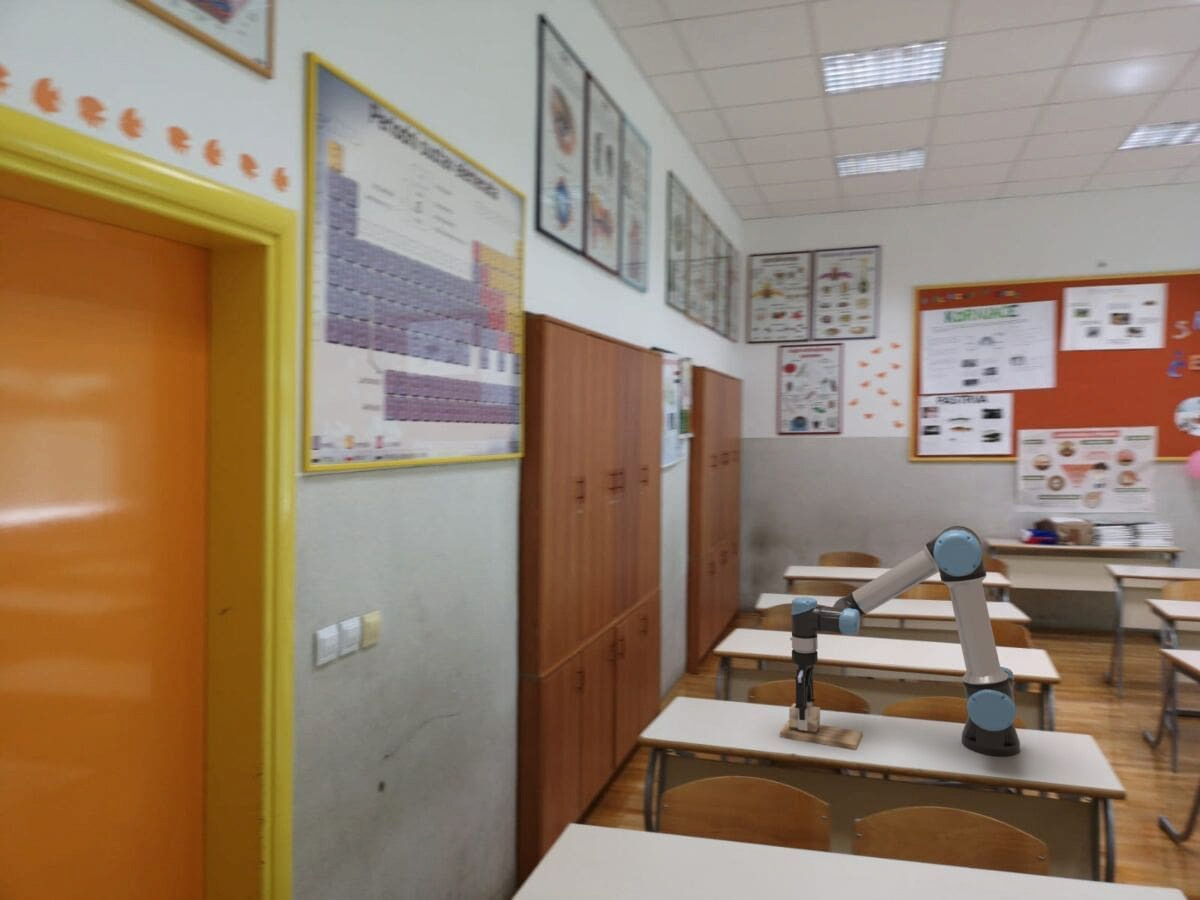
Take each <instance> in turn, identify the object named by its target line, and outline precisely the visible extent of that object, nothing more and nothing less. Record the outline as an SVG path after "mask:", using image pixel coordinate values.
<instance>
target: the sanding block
mask: <svg viewBox="0 0 1200 900" xmlns="http://www.w3.org/2000/svg"><path fill="white" fill-rule="evenodd" d="M795 706H796V702H795V703H794V702H793V703H792V704H791V706H790V707H789V708H788V709H789V712H788V713H789V714H788V715H789V716H788V718H789V719H788V721H789V728H791V729H796V730H799V729H798V708H795ZM807 708H808V730H807V731H808V732H813V733H816V732H817V731H818V729H819V728H820V725H821V707H819V706H813V705H812V706H807ZM802 731H805V730H802Z"/></svg>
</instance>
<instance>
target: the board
mask: <svg viewBox="0 0 1200 900" xmlns="http://www.w3.org/2000/svg"><path fill="white" fill-rule="evenodd" d="M779 737H780V738H782V739H783V738H784V739H790V740H795V741H800V742H807V743H813V744H817V745H818V744H820V745H824V746H830V747H836V748H841V749H842V748H843V749H848V750H853V751H856V750H857V748H858V747H859V744H860V742H861V740H863V739H862V738H863V731H860V730H854V729H847V728H841V727H837V726H832V725H831V726H829V725H822V724H820V728H819V729H818V731H817V732H816V733H813V732H808V731H802V730H796V729H791V728H789V720H788V721H786V723H785V724H784V726H783V727H782V728H781V729H780V731H779Z"/></svg>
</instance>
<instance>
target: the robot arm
mask: <svg viewBox="0 0 1200 900" xmlns="http://www.w3.org/2000/svg"><path fill="white" fill-rule="evenodd" d="M938 573H939V576H940V581H941V582H942V583H943V584H944V585H945V586H947V587H948V590H949V596H950V600H951V606H952V610H953V614H954V619H955V623H956V629H957V633H958V637H959V642H960V646H961V647H960V648H961V651H962V655H963V660H964V661H963V662H964V665H965V669H966V672H965V674H964V675H963V676H962V679H961V680H962V683H963V684H962V685H963V690H964V694H965V699H966V713H967V714H968V715H967V718H966V721H965V724H964V727H963V730H962V733H961V744H963V746H964V747H965V748H967V749H969V750H972V751H974V752H976V753H979V754H984V755H990V756H995V757H1006V756H1010V757H1011V756H1013V755H1016V754H1019V753H1020V751H1021V741H1020V738H1019V735H1018V732H1017V730H1016V727H1015V724H1014V721H1015V718H1016V715H1017V708H1016V705H1015V696H1014V680H1015V678H1014V673H1013V671H1012V669H1009V668H1008V667H1004V666H1001V665H1000V664H1001V663H1000V660H999V656H998V651H997V650H998V649H997V646H996V642H995V641H996V640H995V636H994V633H993V631H994V630H993V627H992V621H991V617H990V613H989V609H988V603H987V600H986V594H985V590H984V585H983V582H984V580H985V579H986V577H987V571H986V566H985V561H984V558H983V552H982V543H981V540H980V537H979V536H978V534H977V533H975V531H973V530H972V529H971V528H969V527H966V526H962V525H953V526H949V527H947V528H945V529H944V530H943V531H942V532H940V533H939V534H938V535H937V536H935V537H934V538H933V539H932V540H930V541H929V542H927V543H925V544H924V546H923V549H922V550H921V551H919V552H917V553H916V554H914V555H912V556H911V557H909V558H907V559H905V560H904V561H902V562H901V563H899V564H897V565H895V566H894V567H892V568H891V569H889V570H887V571H885V572H883V574H881V575H879V576H877V577H876V578H874V579H873V580H870V581H868V582H867V583H866V584H864V585H862V586H861V587H859V588H857V589H856V590H854V591H852V592H851V593H849V594H847V595H846V596H843V597H842V596H841V597H840V598H838V600H836V601H835V602H834V605H833V606H832V607H831V606H821V605H819V604H818V601H817V599H816V598H814V597H807V596H800V597H795V598H793V599H792V600H791V611H790V612H791V613H790V617H791V618H790V620H791V637H790V638H789V641H791V648H792V650H791V662H792V663H793V664H795V665H797V666H798V668H797V669H796V675H795V677H794V678H795V704H796V706H795V708H798V729H799V730H805V731H807V730H808V708H807V706H813V703H815V701H816V700H815V698H814V697H815V696H814V691H815V690H814V688H815V687H814V669H815V665H817V664H818V663H819V662H818V655H819V654H818V651H817V650H818V649H819V648H818V643H819V641H818V640H819V639H818V633H830V634H835V635H836V634H837V635H844V636H849V635H850V636H851V635H853V636H856V635H857V634H859V632H860V626H861V618H862V617H864V616H866V615H868V614H869V613H870V612H872V611H874V610H875V609H877V608H880V607H881V606H882V605H884V604H886V603H888V602H890V601H891V600H893V599H895V598H896V597H898V596H900V595H902V594H903V593H905V592H906V591H908V590H910V589H912V588H914V587H915V586H917V585H919V584H920V583H922V582H924V581H925V580H927V579H930V578H931V577H933V576H934V575H936V574H938Z"/></svg>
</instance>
